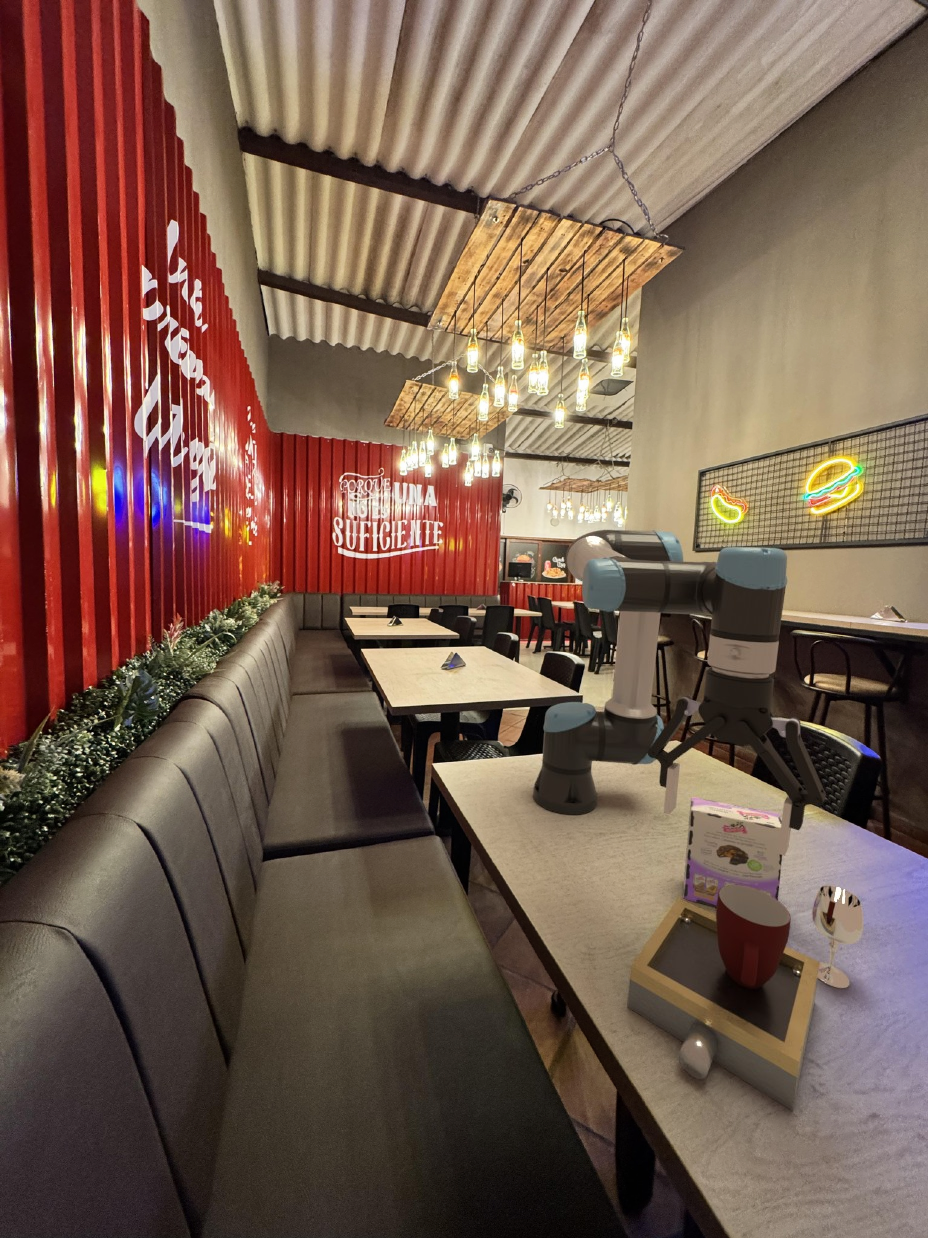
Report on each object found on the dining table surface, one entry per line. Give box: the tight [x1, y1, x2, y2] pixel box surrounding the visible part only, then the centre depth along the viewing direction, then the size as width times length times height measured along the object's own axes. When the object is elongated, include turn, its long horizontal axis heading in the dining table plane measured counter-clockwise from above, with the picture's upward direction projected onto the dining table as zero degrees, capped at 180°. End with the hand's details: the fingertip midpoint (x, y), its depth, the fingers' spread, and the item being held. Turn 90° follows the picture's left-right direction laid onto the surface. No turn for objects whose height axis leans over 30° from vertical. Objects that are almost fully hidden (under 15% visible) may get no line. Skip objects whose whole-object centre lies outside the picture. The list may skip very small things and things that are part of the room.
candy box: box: [682, 796, 783, 908], centre depth 85 cm, size 14×6×16 cm, turn 66°
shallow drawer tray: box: [627, 897, 821, 1112], centre depth 63 cm, size 18×22×6 cm
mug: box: [715, 885, 792, 989], centre depth 63 cm, size 11×8×10 cm
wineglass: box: [811, 884, 865, 989], centre depth 70 cm, size 6×6×12 cm
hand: (722, 829), depth 65 cm, fingers open, 13 cm apart
